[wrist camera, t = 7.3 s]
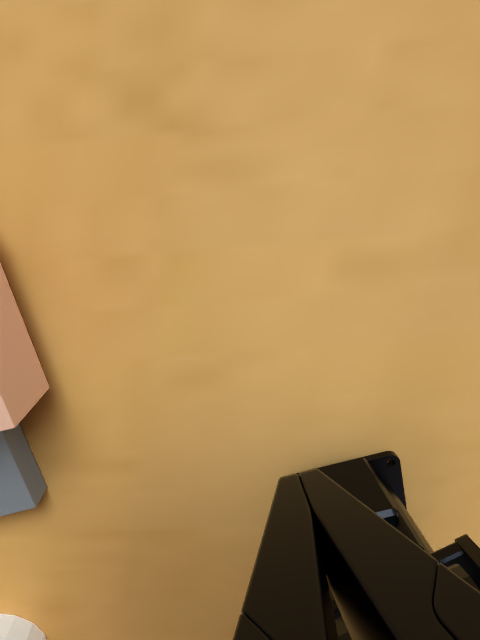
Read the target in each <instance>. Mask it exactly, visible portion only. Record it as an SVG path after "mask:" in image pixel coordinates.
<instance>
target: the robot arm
mask: <svg viewBox="0 0 480 640" xmlns="http://www.w3.org/2000/svg"><path fill="white" fill-rule="evenodd" d="M390 459H392V461H391V462H389V463H387V461H388V460H390ZM241 612H242V614H241V615H240V617H239V620H238V624H237V627H236V631H235V634H234V638H233V640H480V548H479V547H478V546H477V545H476V544H475V543H474V542H473V541H472V540H471V539H470V538H469V537H468V536H467V535H466V534H465V535H463V536H461V537H459V538H457V539H455V542H454V543H452V544H450V545H448V546H446V547H444V548H442V549H439V550H437V551H435V552H434V551H433V550H432V548H431V547H430V545H429V544H428V542H427V540H426V539H425V537H424V536H423V534H422V533H421V531H420V530H419V528H418V527H417V525H416V524H415V522H414V521H413V519H412V517H411V516H410V514H409V513H408V511H407V509H406V501H405V494H404V487H403V479H402V472H401V465H400V460H399V458H398V456H397V455H396V454H395V453H394V452H392V451H386V452H382V453H378V454H374V455H369V456H365V457H361V458H357V459H353V460H349V461H345V462H341V463H337V464H333V465H329V466H325V467H321V468H317V469H311V470H307V471H304V472H301V473H297V474H292V475H288V476H284V477H281V478H280V479H279V481H278V484H277V488H276V491H275V495H274V498H273V502H272V505H271V509H270V512H269V516H268V519H267V523H266V526H265V530H264V533H263V537H262V540H261V544H260V547H259V551H258V554H257V558H256V561H255V565H254V568H253V572H252V575H251V579H250V582H249V586H248V589H247V593H246V596H245V600H244V603H243V607H242V611H241Z"/></svg>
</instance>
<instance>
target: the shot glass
mask: <svg viewBox="0 0 480 640" xmlns="http://www.w3.org/2000/svg"><path fill="white" fill-rule="evenodd" d="M0 640H47V638H46V636H45V634H44V633H43V632H42V631H41V630H40V629H39V628H38V627H37V626H36V625H35V624H34V623H32V622H30V621H28V620H25V619H23V618H21V617H19V616H16V615H8V614H0Z"/></svg>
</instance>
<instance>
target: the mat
mask: <svg viewBox="0 0 480 640" xmlns="http://www.w3.org/2000/svg"><path fill="white" fill-rule="evenodd" d="M46 489H47V486H46V483H45V481H44V479H43V477H42V474H41V472H40V470H39V467H38V465H37V463H36V461H35V458H34V456H33V454H32V451H31V449H30V447H29V445H28V442H27V440H26V438H25V435H24V433H23V431H22V428H21V426H20V424H18V425H17V426H16V427H15V428H12V429H7V430H3V431H0V516H4V515H8V514H12V513H16V512H20V511H24V510H28V509H32V508H36V507H37V505H38V503H39V501H40V500H41V498H42V496H43V494H44V493H45V491H46Z"/></svg>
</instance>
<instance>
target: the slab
mask: <svg viewBox="0 0 480 640" xmlns="http://www.w3.org/2000/svg"><path fill="white" fill-rule="evenodd" d="M49 388H50V387H49V385H48V382H47V380H46V377H45V375H44V372H43V369H42V367H41V364H40V362H39V359H38V357H37V354H36V352H35V349H34V347H33V344H32V342H31V339H30V337H29V334H28V332H27V329H26V326H25V324H24V321H23V319H22V316H21V314H20V311H19V309H18V306H17V304H16V301H15V299H14V296H13V294H12V291H11V288H10V286H9V283H8V281H7V278H6V276H5V273H4V271H3V268H2V266H1V263H0V431H3V430H7V429H12V428H15V427H16V426H17V425H18V424H19V422H20V421H21V420H22V419H23V418H24V417H25V416H26V414H27V413H28V412H29V411H30V410H31V409H32V407H33V406H34V405H35V404H36V403H37V402H38V401H39V399H40V398H41V397H42V396H43V395H44V394H45V392H46V391H47V390H48V389H49Z"/></svg>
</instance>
